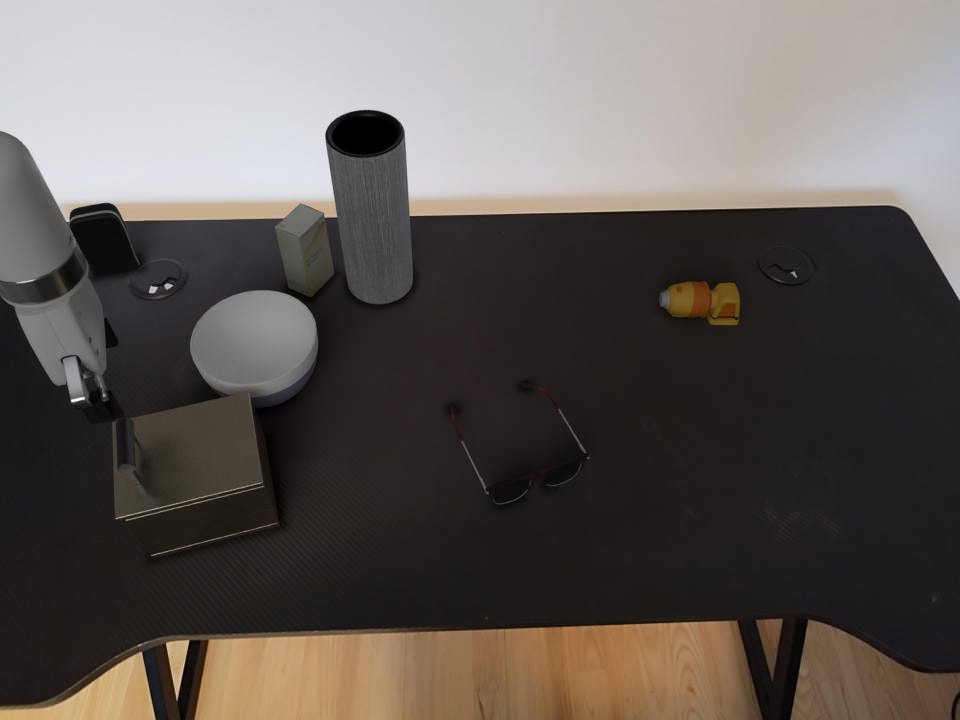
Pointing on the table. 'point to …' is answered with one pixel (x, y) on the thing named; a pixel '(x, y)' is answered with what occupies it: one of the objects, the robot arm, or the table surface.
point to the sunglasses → (520, 484)
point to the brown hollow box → (211, 515)
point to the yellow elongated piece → (702, 301)
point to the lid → (184, 456)
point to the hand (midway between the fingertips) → (106, 381)
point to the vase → (372, 203)
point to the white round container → (256, 346)
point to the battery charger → (103, 239)
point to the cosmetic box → (305, 249)
